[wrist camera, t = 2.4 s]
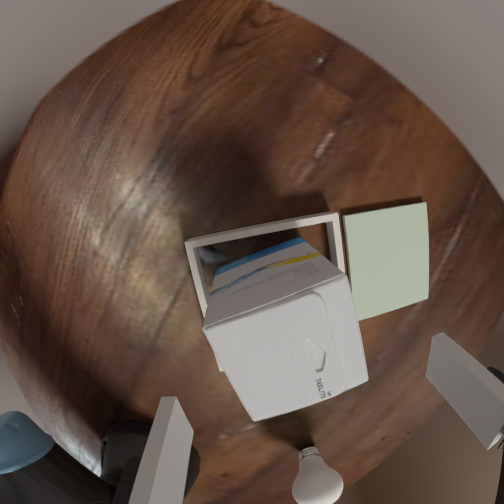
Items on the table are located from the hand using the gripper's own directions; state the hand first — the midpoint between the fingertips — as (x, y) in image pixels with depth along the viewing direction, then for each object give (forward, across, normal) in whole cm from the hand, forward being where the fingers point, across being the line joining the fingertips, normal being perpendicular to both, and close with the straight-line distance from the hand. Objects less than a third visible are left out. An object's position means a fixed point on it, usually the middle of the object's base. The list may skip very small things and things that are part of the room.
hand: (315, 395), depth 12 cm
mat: (+15, +12, 0) cm, 19 cm away
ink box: (+15, 0, 0) cm, 15 cm away
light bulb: (+15, +1, -26) cm, 30 cm away
